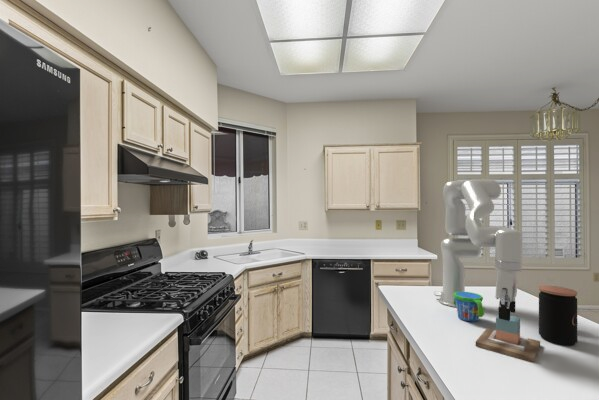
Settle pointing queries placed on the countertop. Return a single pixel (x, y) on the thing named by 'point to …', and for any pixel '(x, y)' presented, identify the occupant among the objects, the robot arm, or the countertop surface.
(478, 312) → the snack cup
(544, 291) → the coffee jar
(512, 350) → the walnut board
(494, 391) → the countertop surface
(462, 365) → the countertop surface
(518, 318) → the teal and orange block
